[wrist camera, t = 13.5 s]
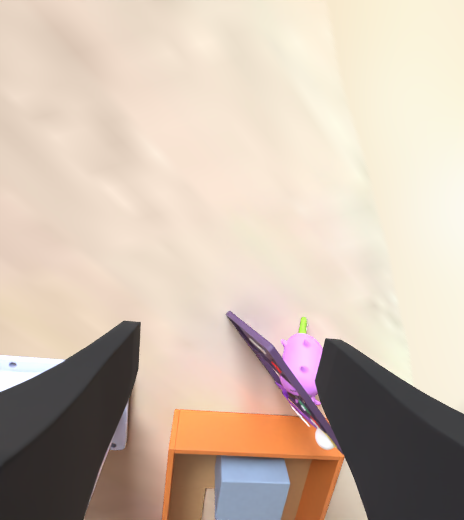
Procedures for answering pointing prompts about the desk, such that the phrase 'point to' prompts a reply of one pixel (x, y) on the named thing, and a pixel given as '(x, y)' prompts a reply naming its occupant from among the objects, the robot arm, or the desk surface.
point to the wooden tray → (253, 445)
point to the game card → (293, 374)
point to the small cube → (250, 488)
